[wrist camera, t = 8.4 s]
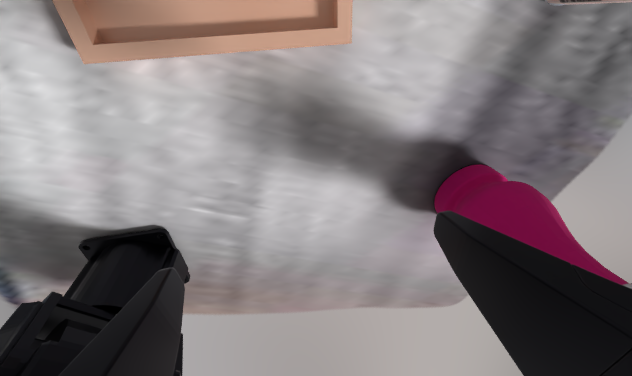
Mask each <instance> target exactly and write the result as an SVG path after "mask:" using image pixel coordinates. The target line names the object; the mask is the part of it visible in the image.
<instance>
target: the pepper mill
mask: <svg viewBox="0 0 632 376" xmlns="http://www.w3.org/2000/svg"><path fill="white" fill-rule="evenodd" d="M434 202H435V209H436V212H437V213H439V212H443V211H453V212H455V213H457V214H459V215H462V216H464V217H466V218H469V219H471V220H473V221H475V222H478V223H480V224H482V225H484V226H487V227H489V228H491V229H494V230H496V231H498V232H500V233H503V234H505V235H507V236H510V237H512V238H514V239H516V240H519V241H521V242H523V243H526V244H528V245H530V246H532V247H535V248H537V249H539V250H542V251H544V252H546V253H548V254H551V255H553V256H555V257H558V258H560V259H562V260H564V261H567V262H569V263H570V264H571V265H572V264H574V265H576V266H578V267H580V268H583V269H585V270H587V271H590V272H592V273H594V274H597V275H599V276H601V277H604V278H606V279H609V280H611V281H613V282H616V283H618V284H621V285H623V286H626V287H628V288H631V289H632V283H631V284H629V283H628V282H626V281H624V280H623V279H622V278H620V277H618V276H617V275H615V274H614V273H612V272H611V271H609V270H608V269H606V268H605V267H604V266H602V265H601V264H600V263H599V262H598V261H596V260H595V259H594V258H593V257H592V256H590V255H589V254H588V253H587V252H586V251H585V250H584V249H583V248H582V247H581V245H580V244H579V243H578V242H577V241H576V240H575V238H574V237H573V236H572V234H571V233H570V232H569V230H568V228H567V227H566V225H565V223H564V222H563V220H562V218H561V216H560V215H559V213H558V211H557V209H556V208H555V207H554V206H553V204H552V203H551V202H550V201H549V200H548V199H547V198H546V197H545V196H544V195H543V194H541V193H540V192H539V191H537V190H536V189H535V188H533V187H532V186H530V185H528V184H526V183H522V182H516V181H508V180H507V179H506V178H505V177H504V176H503V175H501V174H500V173H498V172H497V171H495V170H494V169H492V168H491V167H489V166H486V165H471V166H468V167H465V168H462V169H460V170H458V171H457V172H455V173H453V174H452V175H451V176H450V177H449V178H447V179H446V180H445V181H444V182H443V184H442V185H441V186H440V188H439V189H438V192H437V194H436V196H435V201H434Z"/></svg>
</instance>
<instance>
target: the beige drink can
mask: <svg viewBox="0 0 632 376" xmlns="http://www.w3.org/2000/svg"><path fill="white" fill-rule="evenodd" d="M545 1H546V2H547V3H548V4H551V5H554V6H562V5H567V4H593V3H622V2H632V0H545Z"/></svg>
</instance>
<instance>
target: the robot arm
mask: <svg viewBox="0 0 632 376" xmlns="http://www.w3.org/2000/svg"><path fill="white" fill-rule="evenodd" d="M159 234H162V235H159ZM434 235H435V237H436V239H437V241H438V243H439V245H440V247H441V248H442V250H443V252H444V254H445V256H446V258H447V260H448V262H449V263H450V265H451V267H452V269H453V271H454V272H455V274H456V276H457V277H458V279H459V280H460V282H461V283H462V285H463V286H464V288H465V289H466V291H467V292H468V294H469V295H470V297H471V298H472V299H473V301H474V302H475V304H476V305H477V307H478V308H479V310H480V311H481V313H482V314H483V316H484V317H485V319H486V320H487V322H488V323H489V325H490V326H491V328H492V329H493V331H494V332H495V334H496V335H497V337H498V338H499V340H500V341H501V343H502V344H503V346H504V347H505V349H506V350H507V352H508V353H509V355H510V356H511V358H512V359H513V360H514V362H515V363H516V365H517V366H518V368H519V369H520V371H521V372H522V374H523V375H524V376H632V289H631V288H628V287H626V286H623V285H621V284H618V283H616V282H613V281H611V280H609V279H606V278H604V277H601V276H599V275H597V274H594V273H592V272H590V271H587V270H585V269H583V268H580V267H578V266H576V265H574V264H572V265H571V264H570V263H569V262H567V261H564V260H562V259H560V258H558V257H555V256H553V255H551V254H548V253H546V252H544V251H542V250H539V249H537V248H535V247H532V246H530V245H528V244H526V243H523V242H521V241H519V240H516V239H514V238H512V237H510V236H507V235H505V234H503V233H500V232H498V231H496V230H494V229H491V228H489V227H487V226H484V225H482V224H480V223H478V222H475V221H473V220H471V219H469V218H466V217H464V216H462V215H459V214H457V213H455V212H453V211H443V212H439V213H438V214H437V216H436V221H435V225H434ZM79 249H80V250H81V252H82V253H83V254H84V255H85V257H86V258H87V259H88V260H89V261H88V262H87V264H86V265H85V267H84V268H83V269H82V271H81V272H80V274H79V275H78V277H77V278H76V279H75V281H74V282H73V284H72V285H71V287H70V288H69V289H68V291H67V292H66V294H65V295H64V297H62V294H59V293H56V292H51V293H50V294H49V295H48V296H47V297H46V298H45V299H44V300H43V301H42V302H40V301H37V302H32V303H22V304H21V305H20V306H19V307H18V308H17V309H16V311H15V312H14V313H13V314H12V315H11V317H10V318H9V319H8V320H7V321H6V323H5V324H4V325H3V326H2V327H1V329H0V376H182V358H183V357H182V355H183V334H182V333H181V326H182V315H183V303H184V292H185V287H184V283H187V282H189V279H190V274H189V272H188V267H187V265H186V263H185V261H184V259H183V257H182V255H181V253H180V251H179V250H178V249H177V248H176V246H175V244H174V242H173V240H172V238H171V236H170V234H169V232H168V231H167V230H165V229H154V230H147V231H141V232H134V233H127V234H120V235H114V236H107V237H100V238H93V239H87V240H83V241H82V242H81V243H80V245H79Z"/></svg>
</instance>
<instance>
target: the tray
mask: <svg viewBox="0 0 632 376" xmlns="http://www.w3.org/2000/svg"><path fill="white" fill-rule="evenodd" d="M52 1H53V3H54V5H55V7H56V9H57V11H58V13H59V15H60V17H61V19H62V21H63V23H64V25H65V27H66V29H67V31H68V33H69V35H70V37H71V39H72V41H73V43H74V45H75V47H76V49H77V51H78V53H79V55H80V57H81V59H82V61H83V63H84V64H91V63H104V62H117V61H129V60H142V59H155V58H168V57H181V56H194V55H207V54H220V53H233V52H246V51H259V50H272V49H285V48H298V47H311V46H324V45H337V44H350V43H352V0H52Z"/></svg>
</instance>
